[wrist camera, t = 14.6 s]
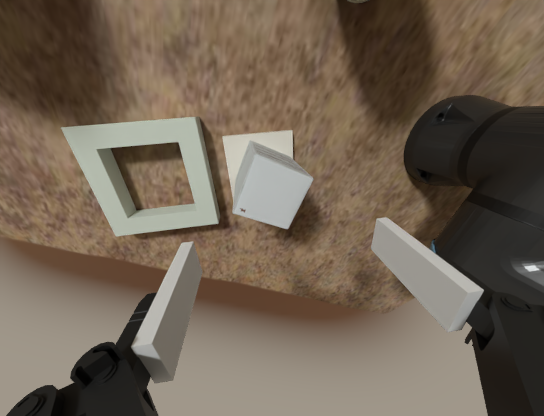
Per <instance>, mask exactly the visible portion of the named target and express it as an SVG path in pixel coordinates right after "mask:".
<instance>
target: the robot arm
mask: <svg viewBox="0 0 544 416" xmlns="http://www.w3.org/2000/svg"><path fill="white" fill-rule="evenodd" d="M404 162H405V166H406V169H407V171H408V172H409V174H410V175H411V176H412V177H413V178H415V179H416V180H419V181H421V182H424V183H427V184H430V185H443V186H466V187H470V188H473V190H472V192H471V193H470V194H469V196H468V197H467V198H466V199H465V201H464V202H463V203H462V205H461V206H460V207H459V209H458V210H457V211H456V213H455V214H454V215H453V217H452V218H451V219H450V221H449V222H448V223H447V225H446V226H445V228H444V229H443V230H442V232H441V233H440V234H439V236H438V237H437V238H436V239H434V240H432V242H431V246H430V247H429V249H428V248H427V247H426V246H424V245H423V244H422V243H420V242H419V241H418V240H416V239H415V238H414V237H412V236H411V235H410V234H408V233H407V232H406V231H404V230H403V229H402V228H400V227H399V226H398V225H396V224H395V223H394V222H392V221H391V220H390V219H388V218H387V217H386V218H378V219H377V220H376V225H375V230H374V236H373V241H372V246H371V249H372V251H373V252H374V253H375V254H376V255H377V256H378V257H379V258H380V259H381V260H382V262H383V263H384V264H385V265H386V266H387V267H388V268H389V269H390V270H391V271H392V272H393V274H394V275H395V276H396V277H397V278H398V279H399V280H400V281H401V282H402V283H403V284H404V286H405V287H406V288H407V289H408V290H409V291H410V292H411V293H412V294H413V295H414V296H415V298H416V299H417V300H418V301H419V302H420V303H421V304H422V305H423V306H424V307H425V309H426V310H427V311H428V312H429V313H430V314H431V315H432V316H433V317H434V318H435V319H436V321H437V322H438V323H439V324H440V325H441V326H442V327H443V328H444V329H445V330H446V331H447V332H452V331H457V330H462V328H463V326H464V325H465V323H466V322H467V323H468V324H469V325H470V326H471V327H472V329H471V331H470V332H469V334H468V336H467V337H466V339H465V343H466V344H468V343H469V342H470V340H471V339H472V342H473V345H472V346H473V347H474V351H475V357H476V361H477V366H478V371H479V375H480V380H481V385H482V389H483V394H484V399H485V404H486V409H487V413H488V416H544V106H528V107H511V106H508V105H505V104H502V103H499V102H496V101H493V100H490V99H487V98H484V97H481V96H476V95H465V96H454V97H450V98H447V99H444V100H442V101H440V102H438V103H437V104H435V105H434V106H432V107H431V108H430V109H429V110H427V111H426V112H425V113H424V114H423V115H422V116H421V118H420V119H419V120H418V121H417V123H416V124H415V126H414V127H413V129H412V131H411V132H410V135H409V137H408V139H407V142H406V146H405V151H404ZM201 275H202V269H201V266H200V262H199V259H198V256H197V252H196V249H195V246H194V242H185V243H181V245H180V247H179V249H178V252H177V254H176V256H175V258H174V260H173V262H172V264H171V266H170V268H169V270H168V272H167V274H166V276H165V278H164V280H163V282H162V284H161V286H160V288H159V290H158V292H157V293H151V294H147V295H146V296H145V297H144V298H143V299H142V300H141V301H140V303H139V304H138V306H137V307H136V309H135V311H134V314H133V315H132V316H131V318H130V320H129V323H128V324H127V325H126V327H125V329H124V331H123V333H122V334H121V336H120V338H119V340H118V341H117V343H116V345H115V344H114V343H113V342H105V343H101V344H99V345H97V346H95V347H93V348H91V349H90V350H89V351H88V352H86V353H85V354H84V355H83V356H82V357H81V358H80V359H79V360H78V361H77V362H76V364H75V366H74V368H73V369H72V371H71V377H70V378H71V379H72V380H73V381H74V382H75V383H73V384H70V385H69V386H66V387H64V388H62V389H60V390H58V389H56V388H55V387H54V386H53V385H45V386H43V387H40V388H38V389H36V390H34V391H33V392H31V393H30V394H28V395H27V396H25V397H24V398H23V399H22V400H21V401H20V402H18V403H17V404H16V405H15V406H14V407H13V409H12V410H11V411H10V412H9V413H8V414H7V415H6V416H158V414H157V411H156V409H155V406H154V404H153V401H152V398H151V396H150V393H149V391H148V389H147V385H148V383H149V380H150V377H151V378H152V380H153V381H154V383H160V382H167V381H172V380H173V378H174V375H175V371H176V367H177V363H178V360H179V356H180V352H181V349H182V345H183V341H184V338H185V334H186V330H187V327H188V323H189V319H190V315H191V312H192V308H193V305H194V301H195V297H196V293H197V290H198V286H199V283H200V279H201Z"/></svg>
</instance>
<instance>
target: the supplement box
mask: <svg viewBox="0 0 544 416" xmlns="http://www.w3.org/2000/svg"><path fill="white" fill-rule="evenodd" d="M312 181H313V177H311V176H310V175H309V174H308V173H307V172H306V171H305V170H304V169H303V168H302V167H300V166H299V165H298V164H297V163H296V162H295V161H294V160H293V159H292V158H291V157H290V156H287V155H285V154H283V153H280V152H278V151H275V150H273V149H271V148H268V147H266V146H263V145H261V144H259V143H256V142H254V141H251V140H250V141H249V143H248V146H247V148H246V151H245V154H244V157H243V159H242V162H241V165H240V168H239V171H238V174H237V177H236V181H235V191H234V202H233V214H236V215H240V216H244V217H247V218H251V219H254V220H257V221H260V222H264V223H267V224H271V225H274V226H277V227H280V228H284V229H288V228H289V226H290V224H291V222H292V220H293V219H294V217H295V215H296V213H297V211H298V209H299V207H300V205H301V203H302V201H303V199H304V197H305V195H306V193H307V191H308V189H309V187H310V185H311V183H312Z"/></svg>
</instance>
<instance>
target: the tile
mask: <svg viewBox="0 0 544 416" xmlns="http://www.w3.org/2000/svg"><path fill="white" fill-rule="evenodd" d="M222 137H223V143H224V149H225V155H226V161H227V166H228V172H229V178H230V184H231V190H232V196H233V201H234V191H235V181H236V177H237V174H238V171H239V168H240V165H241V162H242V159H243V157H244V154H245V151H246V148H247V146H248V143H249V141H250V140H251V141H254V142H256V143H259V144H261V145H263V146H266V147H268V148H271V149H273V150H275V151H278V152H280V153H283V154H285V155H287V156H290V157H291V158H292V159H293V133H292V130H284V131H273V132H261V133H250V134H238V135H227V136H222Z"/></svg>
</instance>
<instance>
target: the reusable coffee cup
mask: <svg viewBox="0 0 544 416" xmlns="http://www.w3.org/2000/svg"><path fill="white" fill-rule="evenodd" d="M347 1H349V2H352V3H363V2H366V1H369V0H347Z"/></svg>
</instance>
